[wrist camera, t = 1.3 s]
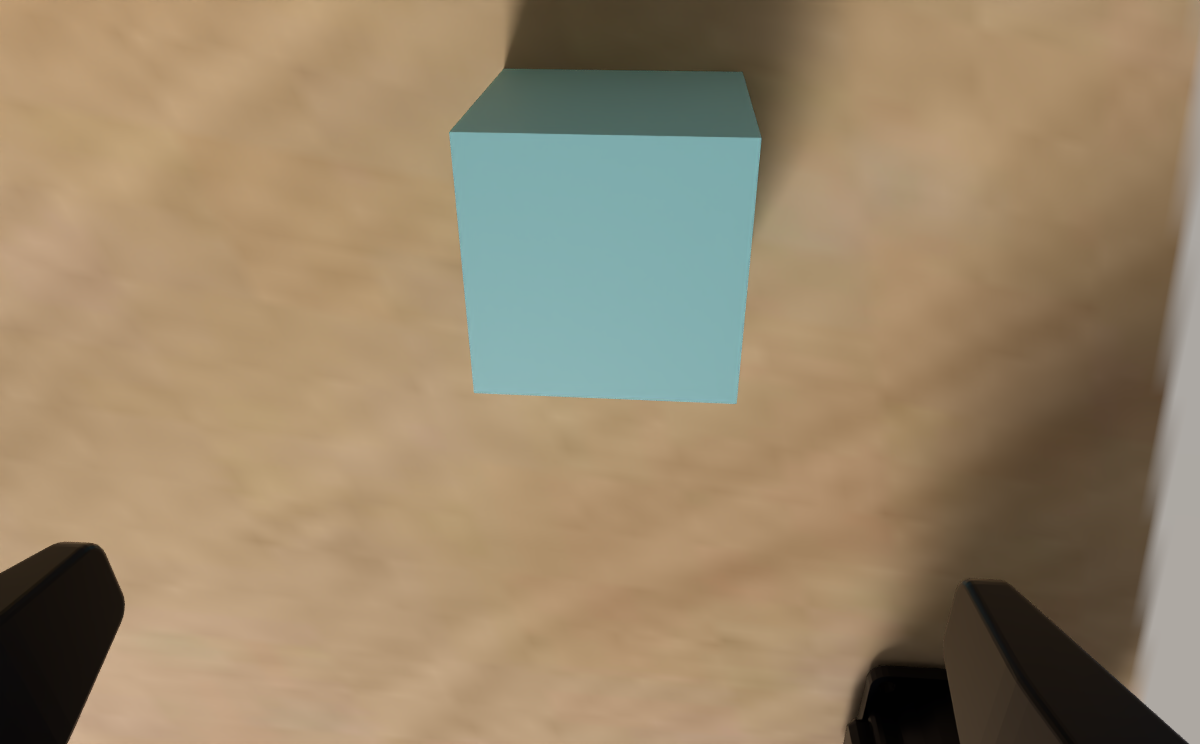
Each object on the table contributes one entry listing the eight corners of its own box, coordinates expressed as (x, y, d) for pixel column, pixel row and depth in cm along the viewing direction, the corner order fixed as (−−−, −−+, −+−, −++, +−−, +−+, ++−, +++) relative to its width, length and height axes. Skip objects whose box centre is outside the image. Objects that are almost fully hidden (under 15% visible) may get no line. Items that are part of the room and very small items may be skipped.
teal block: (742, 71, 18) (761, 138, 13) (724, 289, 20) (736, 403, 16) (504, 68, 18) (449, 132, 14) (517, 282, 21) (474, 393, 16)
